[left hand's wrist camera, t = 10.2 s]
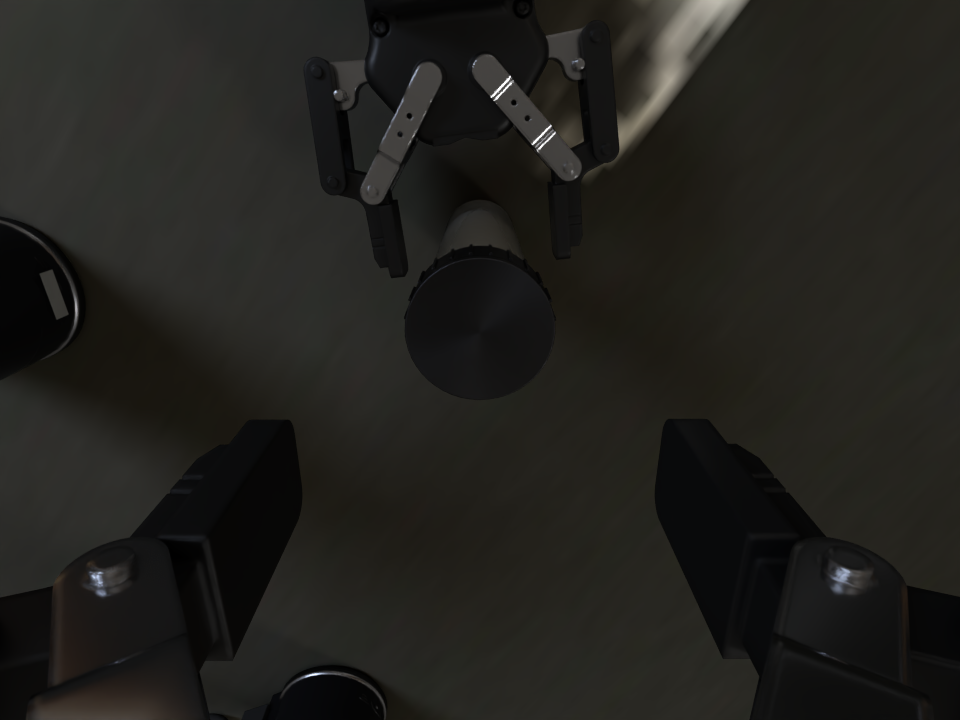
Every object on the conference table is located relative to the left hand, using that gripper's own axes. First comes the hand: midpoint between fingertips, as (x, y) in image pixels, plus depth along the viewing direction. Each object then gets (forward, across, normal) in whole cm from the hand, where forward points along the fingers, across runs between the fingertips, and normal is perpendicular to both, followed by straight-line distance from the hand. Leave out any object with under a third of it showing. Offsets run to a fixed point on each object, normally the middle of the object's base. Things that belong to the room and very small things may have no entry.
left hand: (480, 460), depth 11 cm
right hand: (+20, 0, 0) cm, 20 cm away
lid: (+8, 0, 0) cm, 8 cm away
